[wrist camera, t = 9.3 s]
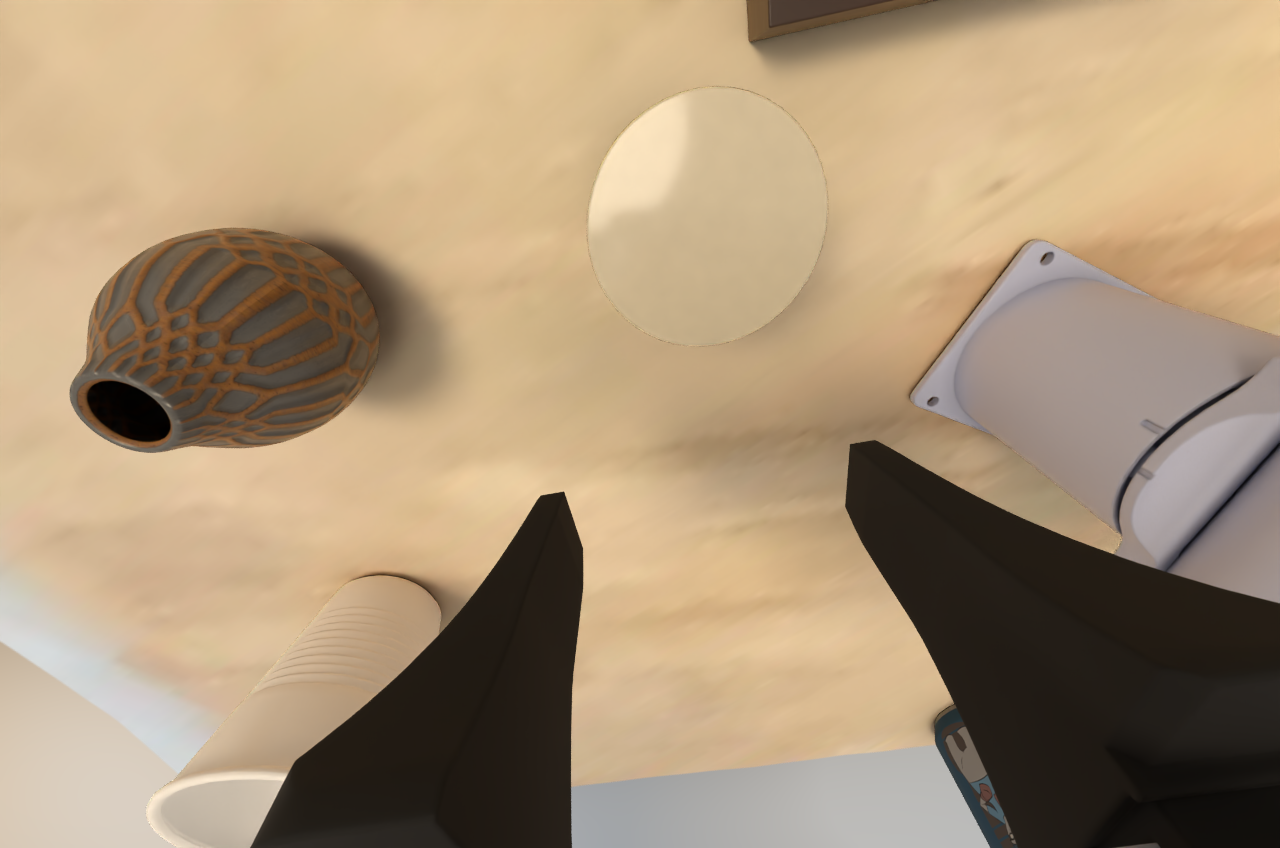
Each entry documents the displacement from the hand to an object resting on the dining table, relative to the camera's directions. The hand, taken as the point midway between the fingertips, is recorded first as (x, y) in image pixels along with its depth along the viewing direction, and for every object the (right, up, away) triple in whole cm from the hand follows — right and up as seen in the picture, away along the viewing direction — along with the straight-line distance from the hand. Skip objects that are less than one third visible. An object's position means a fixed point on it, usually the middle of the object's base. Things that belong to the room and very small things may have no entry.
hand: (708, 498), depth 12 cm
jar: (-1, +10, +6) cm, 12 cm away
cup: (-17, -9, +17) cm, 26 cm away
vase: (-15, +7, +7) cm, 18 cm away
